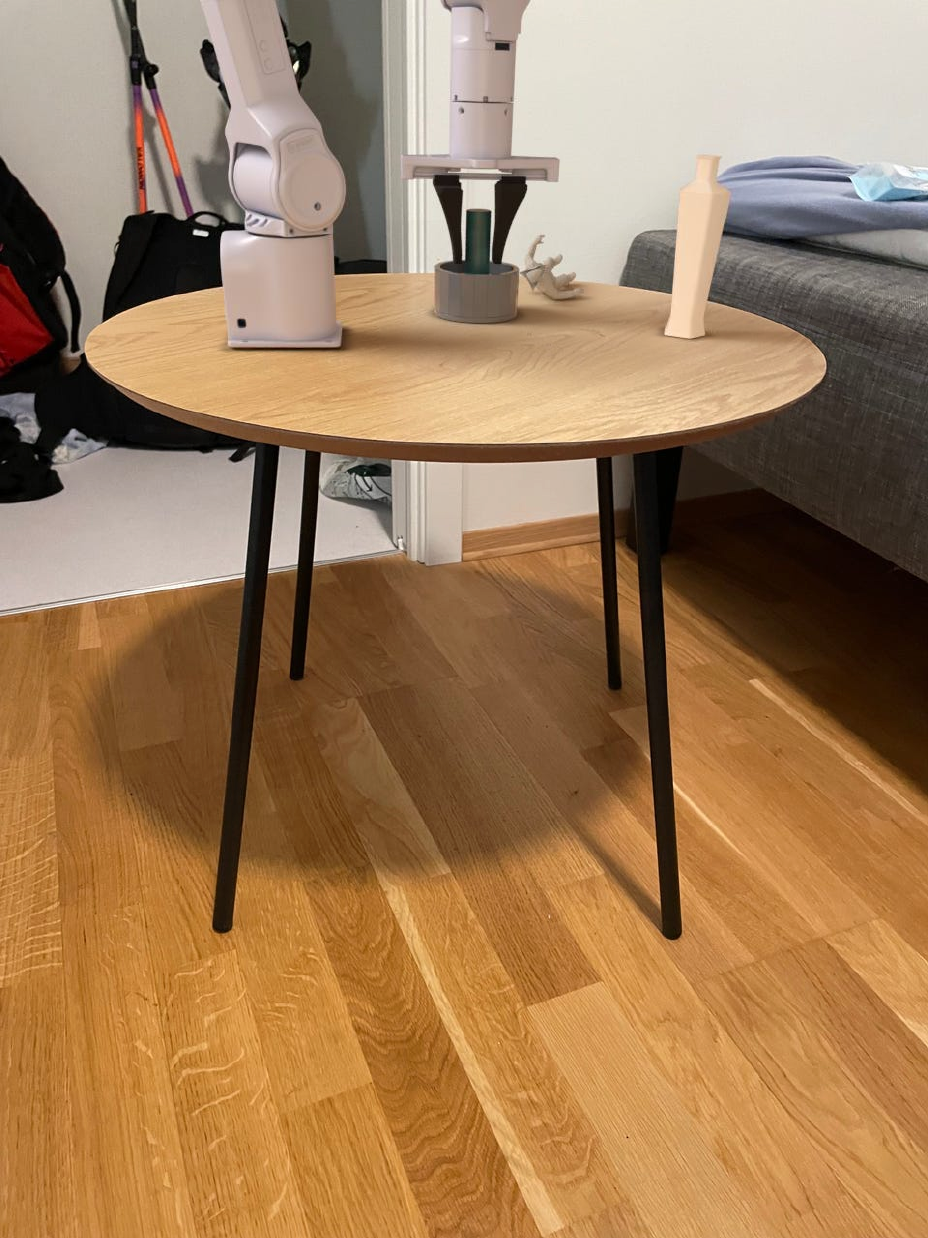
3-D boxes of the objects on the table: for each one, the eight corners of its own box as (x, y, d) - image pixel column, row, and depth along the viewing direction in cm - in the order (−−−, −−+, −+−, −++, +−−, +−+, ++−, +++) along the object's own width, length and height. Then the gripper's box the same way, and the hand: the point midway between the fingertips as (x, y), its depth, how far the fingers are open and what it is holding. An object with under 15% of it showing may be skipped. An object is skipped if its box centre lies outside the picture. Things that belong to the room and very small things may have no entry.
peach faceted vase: (709, 341, 85) (738, 158, 78) (660, 337, 86) (684, 156, 78) (708, 329, 89) (735, 154, 82) (661, 326, 90) (684, 152, 82)
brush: (460, 312, 91) (462, 212, 86) (457, 304, 94) (459, 207, 89) (495, 312, 91) (499, 212, 87) (490, 304, 94) (494, 207, 90)
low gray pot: (437, 322, 89) (437, 274, 87) (431, 304, 96) (432, 259, 94) (522, 323, 90) (524, 275, 87) (510, 304, 97) (512, 259, 94)
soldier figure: (593, 296, 106) (586, 280, 95) (559, 324, 107) (548, 312, 96) (551, 241, 106) (539, 218, 94) (517, 270, 107) (502, 251, 95)
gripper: (402, 101, 79) (403, 269, 86) (570, 105, 81) (558, 270, 88) (399, 98, 85) (400, 255, 92) (555, 102, 87) (545, 257, 94)
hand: (477, 262), depth 90 cm, fingers open, 3 cm apart
